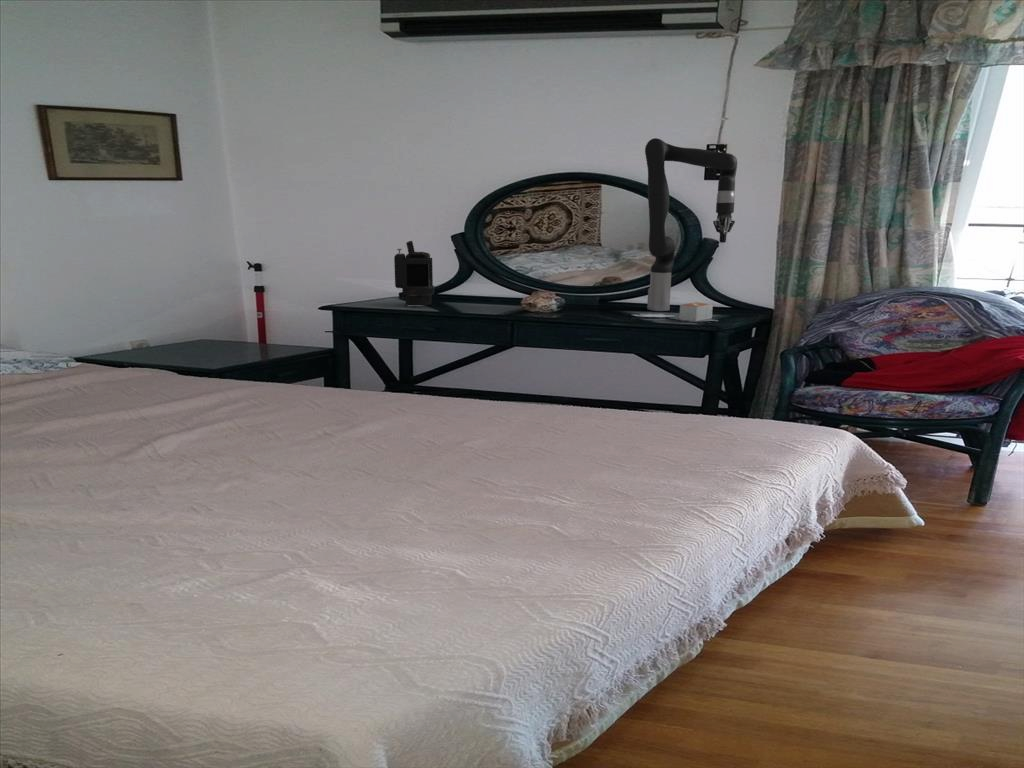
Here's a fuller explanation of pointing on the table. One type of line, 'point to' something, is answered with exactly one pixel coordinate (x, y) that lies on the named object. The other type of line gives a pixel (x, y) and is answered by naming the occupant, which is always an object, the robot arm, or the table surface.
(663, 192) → the robot arm
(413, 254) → the black boxy device
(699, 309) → the small box
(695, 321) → the mat
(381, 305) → the table surface
